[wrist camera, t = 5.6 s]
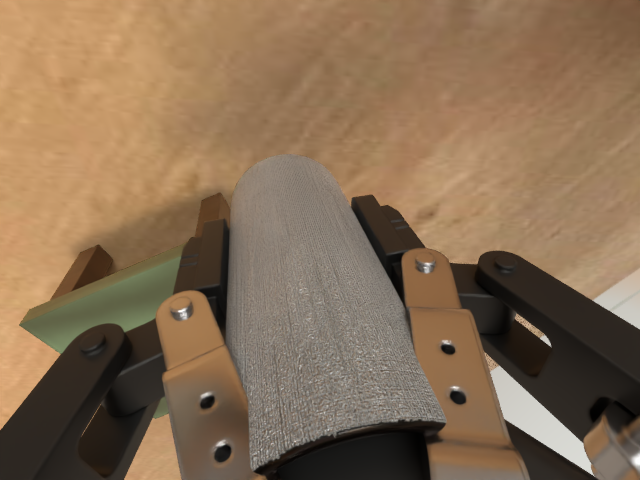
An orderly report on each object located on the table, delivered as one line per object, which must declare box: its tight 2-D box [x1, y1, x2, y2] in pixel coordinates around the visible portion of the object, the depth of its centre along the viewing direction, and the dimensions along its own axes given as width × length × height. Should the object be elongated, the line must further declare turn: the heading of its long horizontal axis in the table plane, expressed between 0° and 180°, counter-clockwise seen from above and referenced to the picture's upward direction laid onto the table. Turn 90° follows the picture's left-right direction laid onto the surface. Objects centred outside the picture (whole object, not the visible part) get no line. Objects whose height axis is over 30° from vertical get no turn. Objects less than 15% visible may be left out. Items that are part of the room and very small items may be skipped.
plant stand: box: [19, 193, 230, 419], centre depth 25 cm, size 12×12×7 cm
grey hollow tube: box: [225, 154, 447, 475], centre depth 10 cm, size 4×4×10 cm
